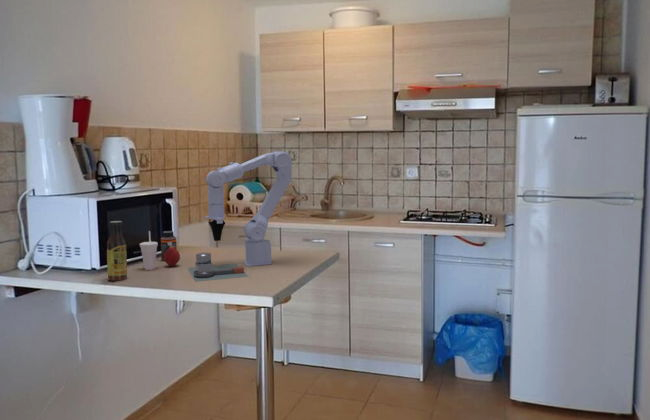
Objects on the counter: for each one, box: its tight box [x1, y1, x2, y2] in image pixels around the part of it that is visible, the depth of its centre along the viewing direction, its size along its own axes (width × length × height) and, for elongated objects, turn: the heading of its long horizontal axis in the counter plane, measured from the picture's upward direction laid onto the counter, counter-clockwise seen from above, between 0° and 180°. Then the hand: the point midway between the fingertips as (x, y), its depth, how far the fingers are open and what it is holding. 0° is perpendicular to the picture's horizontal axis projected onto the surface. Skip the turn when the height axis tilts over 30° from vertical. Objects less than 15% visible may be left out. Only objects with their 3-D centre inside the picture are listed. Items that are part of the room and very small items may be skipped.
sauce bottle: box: [106, 220, 128, 282], centre depth 192 cm, size 6×6×20 cm
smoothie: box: [139, 230, 159, 271], centre depth 207 cm, size 6×6×14 cm
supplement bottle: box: [160, 230, 178, 262], centre depth 223 cm, size 6×6×11 cm
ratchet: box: [194, 265, 245, 278], centre depth 197 cm, size 17×7×4 cm, turn 110°
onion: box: [163, 246, 181, 267], centre depth 211 cm, size 6×6×8 cm
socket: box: [194, 252, 213, 273], centre depth 195 cm, size 5×5×6 cm
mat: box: [187, 263, 249, 282], centre depth 201 cm, size 18×22×1 cm
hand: (217, 240), depth 209 cm, fingers closed
